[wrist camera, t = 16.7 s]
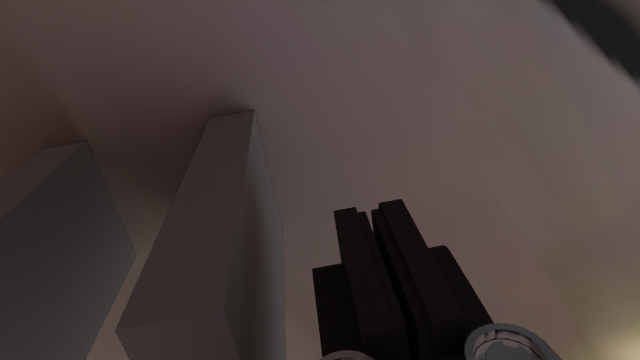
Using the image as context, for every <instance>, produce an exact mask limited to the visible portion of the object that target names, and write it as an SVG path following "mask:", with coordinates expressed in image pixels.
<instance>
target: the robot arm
mask: <svg viewBox="0 0 640 360" xmlns="http://www.w3.org/2000/svg"><path fill="white" fill-rule="evenodd" d="M371 214H372V224H373V231H372V228H371V226H370V223H369V220H368V217H367V215H366V212H365V211H364V212H358V213H357V210H356V207H353V208H347V209H341V210H336V211H334V217H335V224H336V230H337V236H338V243H339V249H340V256H341V262H342V263H341V264H336V265H330V266H325V267H319V268H313V269H312V272H313V281H314V290H315V298H316V306H317V315H318V323H319V332H320V340H321V349H322V358H321V359H320V360H562V359H561V358H560V357H559V355H558V354H557V353H556V352H555V351H554V350H553V349H552V348H551V347H550V346H549V345H548V344H547V343H546V342H545V341H544V340H543V339H542V338H540V337H539V336H538V335H537V334H535V333H533V332H531V331H529V330H528V329H526V328H524V327H520V326H517V325H513V324H507V323H494V322H493V321H492V319H491V318H490V316H489V314H488V313H487V311H486V309H485V308H484V306H483V304H482V303H481V301H480V299H479V298H478V296H477V295H476V293H475V291H474V290H473V288H472V286H471V285H470V283H469V281H468V280H467V278H466V277H465V275H464V273H463V272H462V270H461V268H460V267H459V265H458V263H457V262H456V260H455V259H454V257H453V255H452V254H451V252H450V250H449V249H448V248H447V247H446V246H444V245H443V246H437V247H431V248H428V247H427V245H426V243H425V241H424V240H423V238H422V236H421V234H420V232H419V230H418V228H417V227H416V225H415V223H414V221H413V219H412V217H411V215H410V214H409V212H408V210H407V208H406V206H405V204H404V202H403V201H402V199H398V200H393V201H387V202H381V203H379V209H375V210H372V211H371ZM373 233H374V234H373Z"/></svg>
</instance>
